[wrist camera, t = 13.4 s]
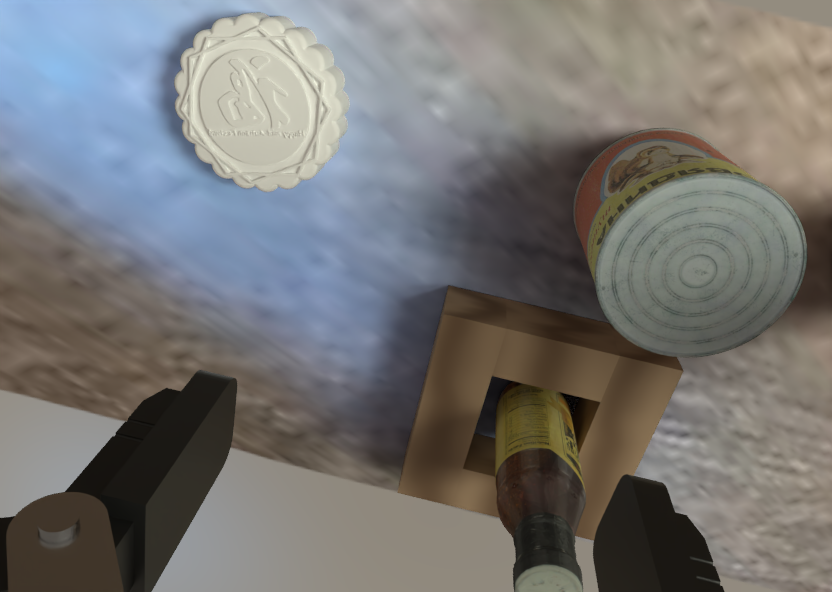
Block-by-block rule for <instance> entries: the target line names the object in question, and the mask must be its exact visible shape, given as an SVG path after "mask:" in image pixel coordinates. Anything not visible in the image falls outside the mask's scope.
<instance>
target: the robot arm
mask: <svg viewBox="0 0 832 592" xmlns="http://www.w3.org/2000/svg"><path fill="white" fill-rule="evenodd" d="M236 394H237V380H236V379H235V378H231V377H227V376H223V375H219V374H215V373H211V372H207V371H202V370H199V371H197V372H196V373H195V375H194V376H193V377H192V378H191V380H190V381H189V382H188V383H187V385H186V386H185V387H184V389H183V390H182V391H177V390H172V389H168V388H165V389H164V390H162V391H160V392H158V393H156V394H155V395H153V396H151V397H149V398H147V399H146V400H144V401H143V402H142V403H141V404H140V405H139V406H138V407H137V409H136V410H135V411H134V412H133V413H132V414H131V416H130V417H129V418H128V421H127V422H125V423H124V424H123V425H122V426H121V427H120V428H119V430H118V431H117V432H116V435H115V437H112V438H111V439H110V440H109V441H108V443H107V444H106V445H105V446H104V447H103V448H102V449H101V451H100V452H99V453H98V454H97V455H96V456H95V458H94V459H93V460H92V461H91V462H90V463H89V465H88V466H87V467H86V468H85V469H84V470H83V471H82V473H81V474H80V475H79V476H78V477H77V479H76V480H75V481H74V482H73V483H72V484H71V485H70V487H69V488H68V489H67V490H66V491H65V492H62V493H56V494H52V495H48V496H45V497H43V498H40V499H38V500H36V501H34V502H32V503H30V504H29V505H27V506H26V507H24V508H23V509H22V510H21V511H20V512H18V514H16V516H14V517H6V518H0V592H151V591H152V590H153V588H154V586H155V585H156V583H157V581H158V579H159V577H160V576H161V574H162V572H163V571H164V569H165V567H166V565H167V564H168V562H169V560H170V558H171V557H172V555H173V553H174V551H175V550H176V548H177V546H178V544H179V543H180V541H181V539H182V538H183V536H184V534H185V532H186V531H187V529H188V527H189V525H190V523H191V522H192V520H193V518H194V517H195V515H196V513H197V511H198V510H199V508H200V506H201V504H202V503H203V501H204V499H205V497H206V495H207V494H208V492H209V490H210V489H211V487H212V485H213V484H214V482H215V480H216V478H217V476H218V475H219V473H220V471H221V470H222V468H223V466H224V464H225V461H226V459H227V456H228V453H229V450H230V447H231V442H232V436H233V426H234V415H235V405H236ZM593 558H594V565H595V571H596V576H597V583H598V588H599V592H724V590H723V587H722V586H720V579H719V576H718V573H717V571H716V568H715V566H713V560H712V557H711V555H710V552H709V549H708V546H707V544H706V541H705V538H704V537H703V536H702V534H701V533H700V532H699V531H698V529H697V528H696V527H695V526H694V524H693V523H692V522H691V520H690V519H689V518H688V517H687V515H683V514H679V513H675V511H674V508H673V505H672V502H671V499H670V496H669V493H668V490H667V488H666V486H665V484H663V483H661V482H657V481H653V480H649V479H645V478H641V477H636V476H632V475H628V474H625V475H623V476H622V477H621V479H620V480H619V482H618V484H617V486H616V489H615V491H614V493H613V495H612V497H611V499H610V501H609V504H608V506H607V508H606V510H605V512H604V514H603V516H602V519H601V521H600V523H599V525H598V527H597V530H596V534H595V538H594V546H593Z"/></svg>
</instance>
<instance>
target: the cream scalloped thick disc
mask: <svg viewBox="0 0 832 592" xmlns="http://www.w3.org/2000/svg"><path fill="white" fill-rule="evenodd" d="M180 63H181V68H182V70H181V71H179V72H178V73H177V75H176V76H175V80H174V86H175V89H176V91H177V93H178V94H179V96H178V97H177V99H176V101H175V110H176V112H177V114H178V116H179V117H180V118H181V119H182V120H183V124H182V131H183V134H184V136H185V138H186V139H187V140H188V141H189V142H191V143H193V144H195V152H196V154H197V156H198V157H199V159H200V160H202V161H203V162H205V163H208V164H212V168H213V170H214V171H215V173H216V174H217V175H218V176H220V177H222V178H225V179H230V178H232V179H233V180H234V182H235V183H236V184H237V185H238V186H240V187H242V188H252V187H254V186H256V187H257V188H258V189H259V190H261V191H264V192H271V191H274V190H275V189H277V188H278V187H281V188H283V189H292V188H294V187H295V186H297V185H298V184H299V183H300V182H301V181H302V180H309V179H311V178H313V177H314V176H315V175H316V174H317V173H318V172H319V171H320V170H321V169H322V168H323V167H324V165H325V163H327V162H328V161H329V160H330V159H331V158H332V157H333V156H334V155H335V154H336V153H337V151H338V149H339V145H340V143H339V139H340V138H341V137H342V136H343V135H344V134H345V133H346V131H347V127H348V123H347V119H346V117H345V116H344V115H345V114H346V113H347V111H348V109H349V106H350V101H349V97H348V95H347V94H346V93H345V92H344V91H343V88H344V85H345V77H344V74H343V72H342V71H341V70H340V69H339V68H338V67H336V66H334V65H333V64H334V57H333V54H332V52H331V50H330V49H329V48H328V47H327V46H325V45H322V44H318V43H317V39H316V36H315V35H314V33H313V32H312V31H311V30H310V29H308V28H306V27H297V28H296V26H295V24H294V23H293V22H292V21H291V20H290V19H289V18H287V17H285V16H276V17H269V16H268V15H266V14H264V13H260V12H257V13H247V14H242V15H240V16H238V17H228V18H221V19H218V20H217V21H216V22H215V23H214V24H213V26H212V29H207V30H202V31H200V32H198V33H197V34H196V35H195V37H194V40H193V47H192V48H188V49H186V50H185V51H184V52H183V54H182V55H181V59H180Z"/></svg>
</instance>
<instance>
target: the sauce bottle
mask: <svg viewBox="0 0 832 592" xmlns="http://www.w3.org/2000/svg"><path fill="white" fill-rule="evenodd" d="M495 443H496V444H495V453H496V458H495V484H496V490H497V498H496V499H497V501H496V504H497V508H498V513H499V516H500V520H501V521H502V523H503V525H504V527H505V528H506V529H507V531H508V532H509V533H510V534H511V535H512V537H513V538H514V545H515V548H516V549H515V550H516V562H515V564H514V568H513V581H514V583H513V584H514V592H583V583H582V573H581V569H580V567H579V565H578V563H577V561H576V553H575V546H574V545H575V535H576V531H577V528H578V525H579V522H580V519H581V516H582V514H583V511H584V508H585V505H586V493H585V487H584V481H583V476H582V471H581V465H580V460H579V455H578V450H577V444H576V439H575V433H574V428H573V423H572V417H571V412H570V408H569V405H568V403H567V401H566V399H565V397H564V394H563V393H561V392H557V391H552V390H548V389H544V388H540V387H536V386H532V385H527V384H523V383H519V382H515V381H514V382H511V383H510V384H508V385H507V387H506V388H505V389H504V390H503V392H502V394H501V396H500V398H499V401H498V403H497V408H496V431H495Z"/></svg>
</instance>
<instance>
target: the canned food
mask: <svg viewBox="0 0 832 592" xmlns="http://www.w3.org/2000/svg"><path fill="white" fill-rule="evenodd" d="M573 217H574V224H575V228H576V232H577V235H578V237H579V239H580V241H581V243H582V246H583V249H584V252H585V255H586V258H587V261H588V265H589V268H590V271H591V274H592V277H593V280H594V283H595V288H596V293H597V297H598V301H599V303H600V306H601V309H602V311H603V313H604V314H605V316H606V318H607V319H608V321H609V322H610V324H611V325H612V326H613V327H614V328H615V329H616V330H617V331H618V332H619V333H620V334H621V335H622V336H623V337H625V338H626V339H627V340H628V341H630V342H632V343H633V344H635V345H637V346H639V347H641V348H643V349H645V350H648V351H650V352H653V353H657V354H660V355H666V356H672V357H688V358H689V357H702V356H709V355H713V354H718V353H721V352H725V351H728V350H731V349H733V348H736V347H738V346H740V345H742V344H745V343H747V342H748V341H750V340H752V339H754V338H755V337H757V336H758V335H760V334H761V333H763V332H764V331H765V330H766V329H768V328H769V327H770V326H771V325H772V324H773V323H774V322H776V321H777V320H778V319H779V318H780V316H781V315H782V314H783V313H784V312H785V311H786V309H787V308H788V307H789V305H790V304H791V302H792V301H793V299H794V297H795V296H796V294H797V292H798V290H799V288H800V285H801V283H802V280H803V277H804V273H805V269H806V262H807V244H806V238H805V233H804V230H803V227H802V224H801V222H800V220H799V218H798V216H797V214H796V213H795V211H794V210H793V208H792V207H791V206H790V205H789V204H788V202H787V201H786V200H785V199H784V198H783V197H781V196H780V195H779V194H778V193H777V192H775V191H774V190H772V189H771V188H770V187H768V186H766V185H764V184H762V183H761V182H759V181H757V180H756V179H755V178H753V177H752V176H751V175H749V174H748V173H747V172H745V171H744V170H743V169H741V168H740V167H739V166H737V165H736V164H735V163H733V162H732V161H731V160H729V159H728V158H727V157H725V156H724V155H722V154H721V153H720V152H719V151H718V150H717V149H716V148H715V147H714V146H713V145H712V144H710V143H709V142H707V141H706V140H705V139H703V138H701V137H699V136H697V135H695V134H692V133H690V132H687V131H683V130H678V129H670V128H657V129H649V130H644V131H640V132H636V133H633V134H631V135H628V136H626V137H624V138H622V139H620V140H618V141H616V142H615V143H613V144H611V145H610V146H609V147H607V148H606V149H605V150H604V151H602V152H601V153H600V154H599V155H598V156H597V157H596V158H595V159H594V160H593V161H592V163H591V164H590V165H589V167H588V168H587V170H586V171H585V173H584V174H583V176H582V178H581V180H580V182H579V185H578V187H577V191H576V194H575V199H574V207H573Z"/></svg>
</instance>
